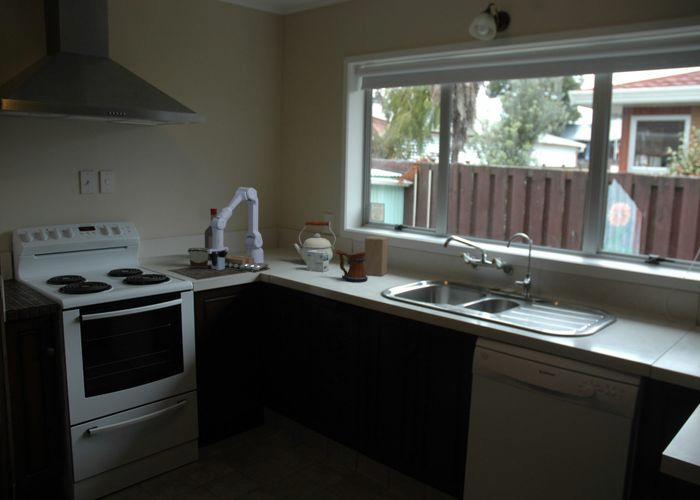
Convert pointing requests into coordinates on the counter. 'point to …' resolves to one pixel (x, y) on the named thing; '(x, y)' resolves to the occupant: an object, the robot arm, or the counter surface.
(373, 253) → the wooden block
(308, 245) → the kettle
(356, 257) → the mug
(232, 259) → the slab
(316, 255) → the light bulb box
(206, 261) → the food container
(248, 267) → the roller track
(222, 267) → the block
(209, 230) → the liquor
